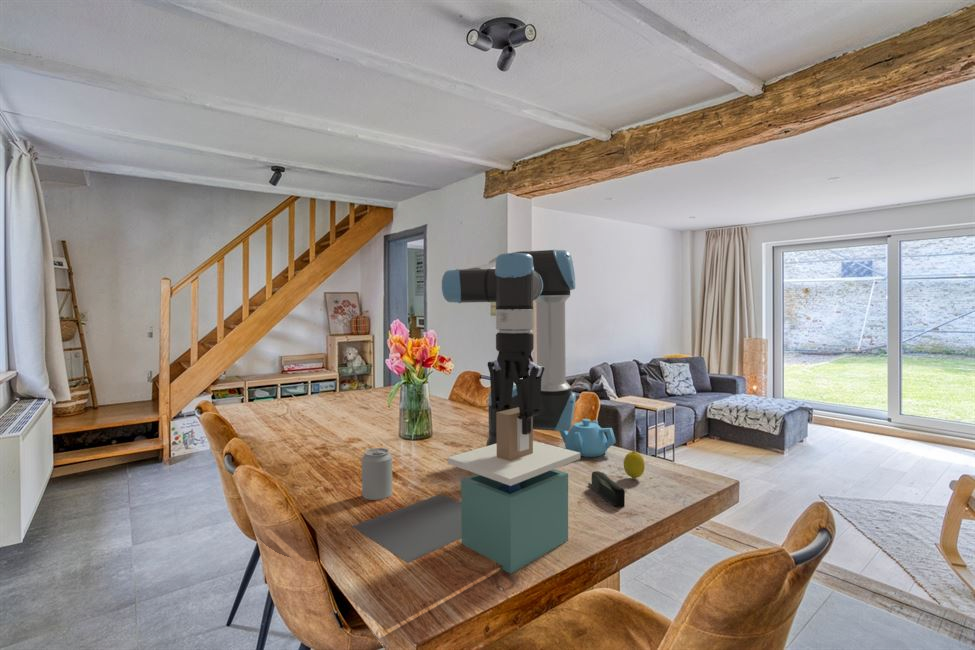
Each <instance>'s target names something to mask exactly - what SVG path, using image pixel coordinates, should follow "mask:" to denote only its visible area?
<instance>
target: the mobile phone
mask: <svg viewBox="0 0 975 650" xmlns="http://www.w3.org/2000/svg"><path fill="white" fill-rule="evenodd" d="M587 484H588V486H589V487H591V488H592V489H593V490H594V491H595V492H597V494H599V496H601V497H603V499H605V500H606V502H608V503H609V504H610V505H612V506H614V507H617V508H622V507H625V503H626V502H625V499H626V498H625V497H626V496H625V495H626V494H625V493H626V491H625V490H626V489H625V488H623V487H621V485H619V484H618V483H617V482H616V481H614V480H613V479H611V478H610V476H608V475H607V474H606V473H604V472H601V471H598V470H595V471H593V472H592V473H591V483H590V482H587Z"/></svg>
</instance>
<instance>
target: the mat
mask: <svg viewBox="0 0 975 650" xmlns="http://www.w3.org/2000/svg"><path fill="white" fill-rule="evenodd" d="M351 527H352V528H353V529H355V530H356V531H358V532H359V533H361V534H363V536H366V537H367V538H369V539H370V540H371V541H373V542H375V543H377V544H378V545H380V546H381V547H382V548H384V549H386V550H387V551H389V552H390V553H392V554H393V555H395V556H396V557H398V558H399V559H401V560H403V561H404V562H406V563H411V562H413V561H415V560H418V559H420V558H421V557H424V556H426V555H428V554H431V553H432V552H435V551H438V550H439V549H441V548H443V547H445V546H447V545H450V544H452V543H455V542H456V541H459V540H460V539H461V540H462V518H461V502H460V501H459V500H456V499H453V498H452V497H449V496H447V495H444V494H443V493H440V494H437V495H434V496H431V497H429V498H425V499H424V500H421V501H418V502H414V503H413V504H410V505H407V506H403V507H402V508H398V509H396V510H393V511H390V512H387V513H385V514H381V515H378V516H376V517H373V518H370V519H368V520H366V521H362V522H360V523H356V524H353V525H352V526H351Z"/></svg>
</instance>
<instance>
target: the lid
mask: <svg viewBox="0 0 975 650" xmlns="http://www.w3.org/2000/svg"><path fill="white" fill-rule="evenodd" d="M518 416H520V411H519V407H518V408H513V409H509V410H504V411H500V412H496V432H497V443H496V444H493V445H489V446H486V445H485V446H483V447H479V448H475V449H473V450H469V451H466V452H462V453H459V454H456V455H452V456H449V457H447V464H448V465H452V466H454V467H456V468H460V469H463V470H465V471H468V472H471V473H474V474H479V475H481V476H484V477H487V478H490V479H493V480H495V481H498V482H501V483H504V484H507V485H509V486H512V485H514V484H517V483H519V482H522V481H524V480H527V479H530V478H532V477H535V476H537V475H540V474H542V473H545V472H547V471H550V470H553V469H555V470H556V469H557V468H561V467H563V466H565V465H568V464H570V463H573V462H575V461H578V460H581V456H580V453H579V452H575V451H571V450H568V449H566V448H563V447H558V446H555V445H551V444H547V443H545V442H544V443H543V442H539V441H537V440H536V441H535V440H534V429H533V416H532V418H531V433H530V434H529V449H526V450H523V451H517V418H518Z"/></svg>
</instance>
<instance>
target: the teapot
mask: <svg viewBox="0 0 975 650" xmlns="http://www.w3.org/2000/svg"><path fill="white" fill-rule="evenodd" d="M558 432H559V434H560V437H561V438H562V442H563V443H564V447H565V449H568V450H571V451H575V452H579V453H580V457H581V456H584V457H583V458H596V457H597V456H598V457H601V456H603V455H604V454H605V453H606V452H607V451H608V449H609V448H610V447H612V446H613V445H614V444H615V443H617V441H616V437H615V436H616V435H615V434H614V430H613V428H612V427H605V428H604V427H601V426H600V425H599V420H596V419H595V420H594V419H593V420H592V422H591V419H588V418H583V419H581V421H579V422H575V423H573V424H572V425H571V428H570V429H569V430H567V431H558ZM598 457H597V458H598Z"/></svg>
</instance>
